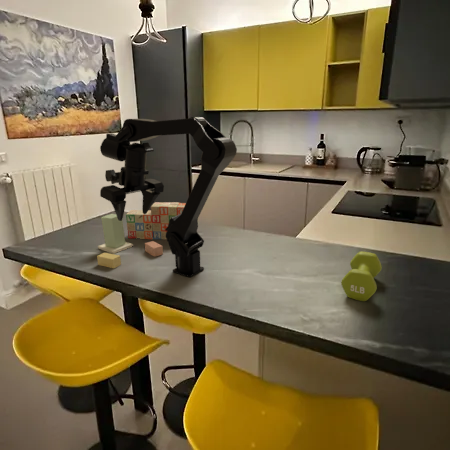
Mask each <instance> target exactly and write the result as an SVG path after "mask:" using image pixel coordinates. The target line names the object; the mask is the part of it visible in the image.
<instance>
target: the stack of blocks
mask: <svg viewBox="0 0 450 450" xmlns="http://www.w3.org/2000/svg"><path fill="white" fill-rule="evenodd" d="M185 204H186V202H177V201H176V202H174V201H173V202H158V201H157V202H156V201H154V202H153V204H152V205H151V207H150V209H149V210H148V212H147V213H146V214H143V209H131V210H129V211H128V212H127V213H126V214H125V218H126V219H125V220H126V227H127V237H128V239H135V238H136V239H137V238H140V239H139V240H144V239H145V240H167V238H166V232H167V231H165V229H166V228H167V227H168V225H169V221H170V219H171V218H172V217H175V216H177V215H179V214H181V213H182V211H183V209H184V206H185Z"/></svg>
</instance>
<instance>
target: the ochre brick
mask: <svg viewBox="0 0 450 450" xmlns="http://www.w3.org/2000/svg"><path fill="white" fill-rule="evenodd" d="M96 258H97V264H98V266H102V267H106V268H110V269H115V268H117V267H119V266H121V265H122V261H121V260H122V259H121V255H119V254H115V253H114V254H112V253H110V252H103V253H100V254H99V255H97V256H96Z"/></svg>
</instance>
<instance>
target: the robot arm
mask: <svg viewBox="0 0 450 450" xmlns="http://www.w3.org/2000/svg"><path fill="white" fill-rule="evenodd" d="M185 134H186V135H188V134H189V135H190V136H191V137H192V138H193V141H194V142H195V145H196V147H197V148H198V149H200V151H202V153H201V157H200V166H201V168H200V170H199V173H198V176H197V177H196V181H194V185H193V187H192V189H191V191H190V194H189V196H188V198H187V201H186V202H185V203H186V204H185V206H184V209H183V211H182V213H181V214H179V215H177V216H175V217H172V218H171V219H170V221H169V225H168V227H167V228H166V229H165V231H167V232H166V238H167V239H166V240H167V242H168V243H167V244H168V246H169V249H170V252H171V254H172V255H174V259H175V268H173V269H172V272H173V273H176V274H179V275H181V276H185V277H188V278H191V277H193V276H195V275H197V274H198V273H200V272H202V271H204V270H205V267H203V266H201V250H199V249H200V248H203V246H204V243H205V239H204V238H202V236H201V235H200V234H199V233H198V228H199V224H198V222H199V221H198V220H199V217H200V215H201V213H202V211H203V209H204V206H205V204H206V202H207V201H208V198H209V196H210V195H211V192H212V190H213V188H214V186H215V184H216V182H217V180H218V178H219V176H220V175H221V173H222V172H224V171H225V170H226V169H227V168H228V167H229V165H230V164H231V162H232V161H233V160H234V158H235V157H236V155H237V150H238V149H237V146H236V144H235V143H236V142H235V141H234V140H233V139H232V138H231V137H230V138H229V137H227V136H225V134H224V133H222V132H221V131H219V130H218V129H217V128H216V127H214V126H213V125H211V124H210V123H209V121H208V120H206V119H205V118H204V117H202V116H201V117H200V116H191V117H189V118H181V119H180V118H178V119H167V120H166V119H165V120H154V119H148V118H126V119H125V120H123V124H122V127H121V128H120V130H119V131H118V132H117V134H115V133H112V132H111V133H106V137H104V139H103V140H102V142H101V145H100V147H99V150H100V154H101V156H103V157H105V158H108V159H111V160H115V161H118V162H124V166H121V168H120V171H117V172H116V171H115V170H114V169H108V170H105V173H104V174H105V181H106V182H108V183H109V182H111V184H110V185H106V186H102V187H101V188H100V194H99V197H101V198H103V199H105V200H106V201H108V202H110V203H111V205H112V207H113V210H114V212H115V214H116V215H117V218H118V220H119V221H123V218H124V215H125V209H126V205H127V201H126V200H125V199H126V197H127V195H129V194H133V193H134V194H135V193H141V194H142V209H141V210H143V214H146V213H147V212H148V210H150V209H151V206H152V205H153V204H154V203H155V202H156V200H157V198H158V197H159V196H160V195H161V193H163V192H164V189H165V188H164V187H165V186H164V184H163V182H162V181H160V180H157V179H154V178H146V175H149V172H150V171H149V170H148V169H146V167H147V155H148V153H153V152H155V150H154V148H153V147H152V146H151V145H150V143H149V142H142V141H150V140H152V139H155V138H158V137H161V136H172V135H176V136H177V135H185ZM138 142H142V143H138ZM114 184H118V185H119V186H120V187H119V186H116V185H114ZM122 186H123V187H122Z"/></svg>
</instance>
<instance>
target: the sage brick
mask: <svg viewBox="0 0 450 450" xmlns="http://www.w3.org/2000/svg"><path fill="white" fill-rule="evenodd" d="M100 219H101V226H102V231H103V239H104V244H105V246H107V247H112V248H117V247H119V246H121V245H123V244H125V242H126V237H125V230H124V224H123V223H124V221H123V220H122V221H119V220H118V218H117V215H116V213H110V214H107V215H104V216H102V217H100Z"/></svg>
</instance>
